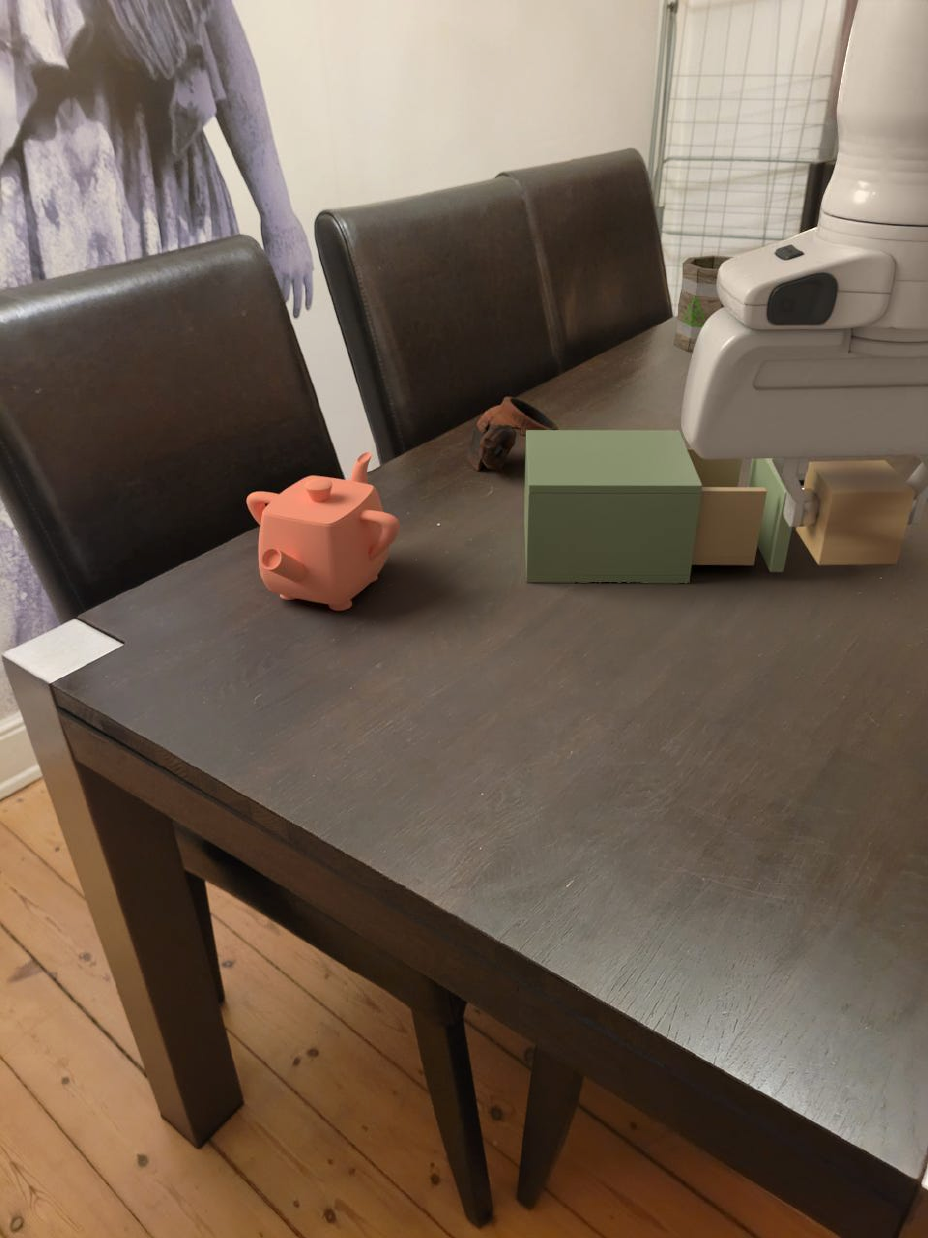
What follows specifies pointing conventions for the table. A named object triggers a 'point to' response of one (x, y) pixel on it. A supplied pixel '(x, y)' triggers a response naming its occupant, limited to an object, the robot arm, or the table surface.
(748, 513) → the drawer
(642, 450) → the cabinet
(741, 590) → the table surface
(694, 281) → the mug
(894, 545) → the block
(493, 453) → the pottery mug
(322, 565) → the teapot
